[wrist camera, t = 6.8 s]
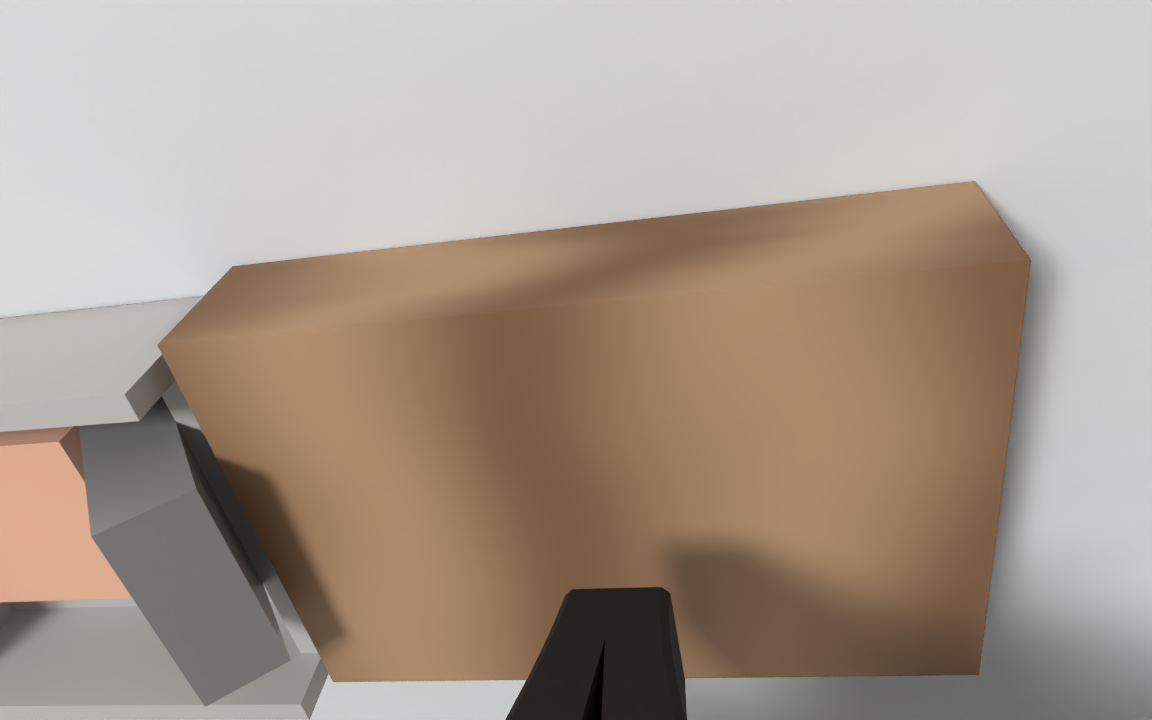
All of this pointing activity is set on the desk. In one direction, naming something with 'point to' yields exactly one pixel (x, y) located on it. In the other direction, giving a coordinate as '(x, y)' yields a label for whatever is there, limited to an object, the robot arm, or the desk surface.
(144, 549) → the tile charcoal
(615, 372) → the walnut board
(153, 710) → the tray
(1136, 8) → the desk surface
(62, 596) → the tile terracotta
